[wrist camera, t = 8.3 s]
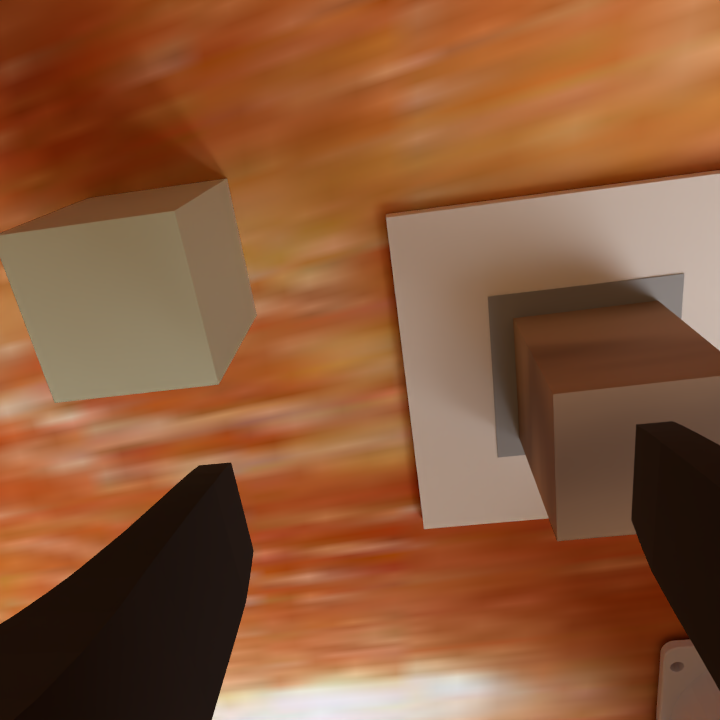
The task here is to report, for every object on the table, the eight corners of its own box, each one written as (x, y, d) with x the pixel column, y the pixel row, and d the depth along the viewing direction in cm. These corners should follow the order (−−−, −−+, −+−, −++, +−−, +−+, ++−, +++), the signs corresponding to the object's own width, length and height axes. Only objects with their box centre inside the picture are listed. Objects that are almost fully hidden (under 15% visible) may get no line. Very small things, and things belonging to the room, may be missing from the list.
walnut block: (652, 424, 20) (730, 525, 16) (519, 438, 21) (557, 540, 16) (658, 300, 19) (746, 373, 14) (512, 318, 19) (553, 394, 14)
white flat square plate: (743, 491, 22) (751, 501, 21) (423, 520, 23) (424, 529, 22) (784, 161, 17) (796, 163, 17) (385, 214, 18) (385, 218, 18)
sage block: (256, 314, 20) (218, 384, 15) (129, 330, 20) (55, 403, 16) (227, 178, 18) (174, 210, 14) (88, 197, 19) (-8, 236, 14)
